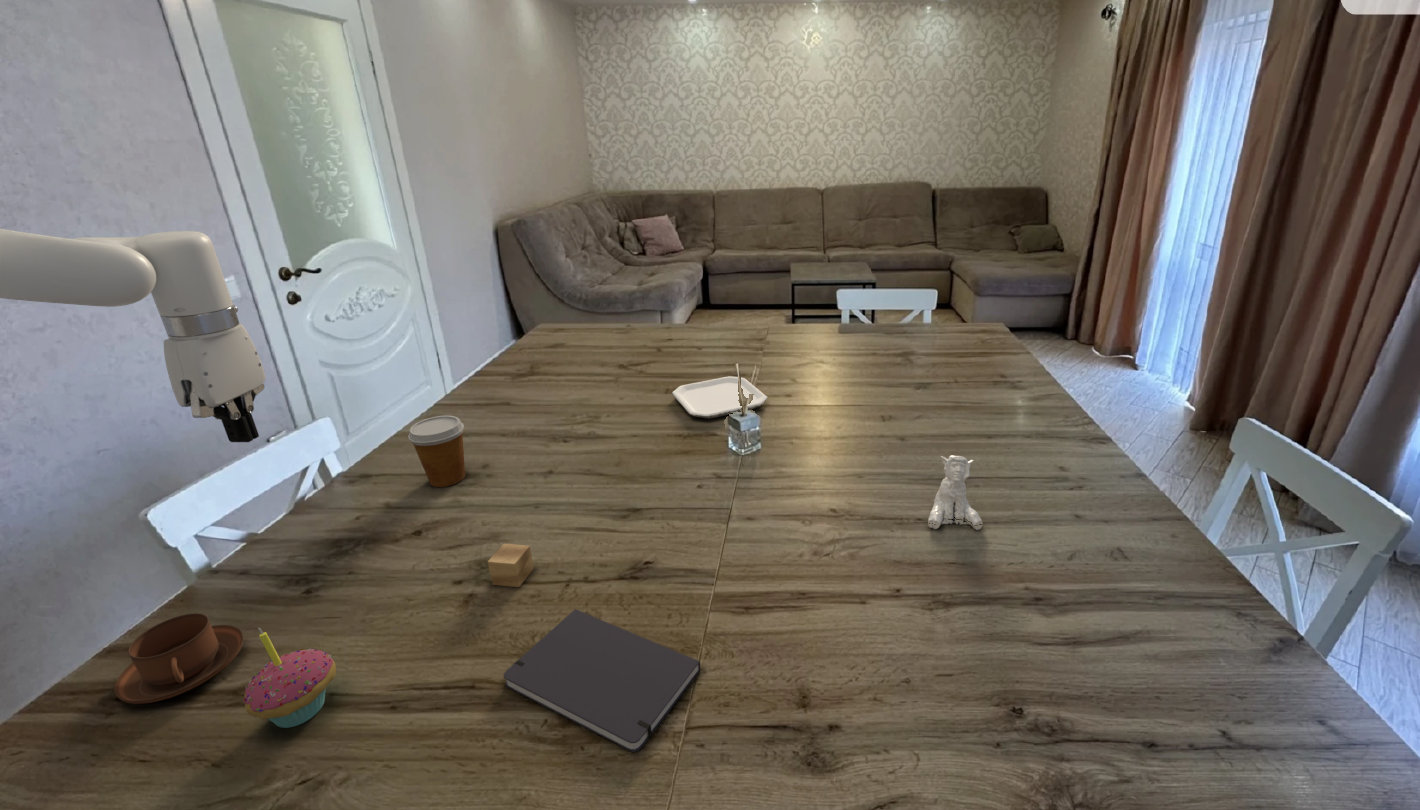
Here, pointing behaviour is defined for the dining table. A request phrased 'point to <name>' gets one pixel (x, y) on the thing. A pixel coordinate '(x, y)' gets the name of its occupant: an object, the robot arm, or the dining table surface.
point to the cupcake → (289, 685)
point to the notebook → (603, 678)
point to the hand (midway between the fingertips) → (244, 439)
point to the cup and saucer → (176, 658)
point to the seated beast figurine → (954, 496)
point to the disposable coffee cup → (440, 449)
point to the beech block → (511, 565)
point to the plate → (716, 397)
